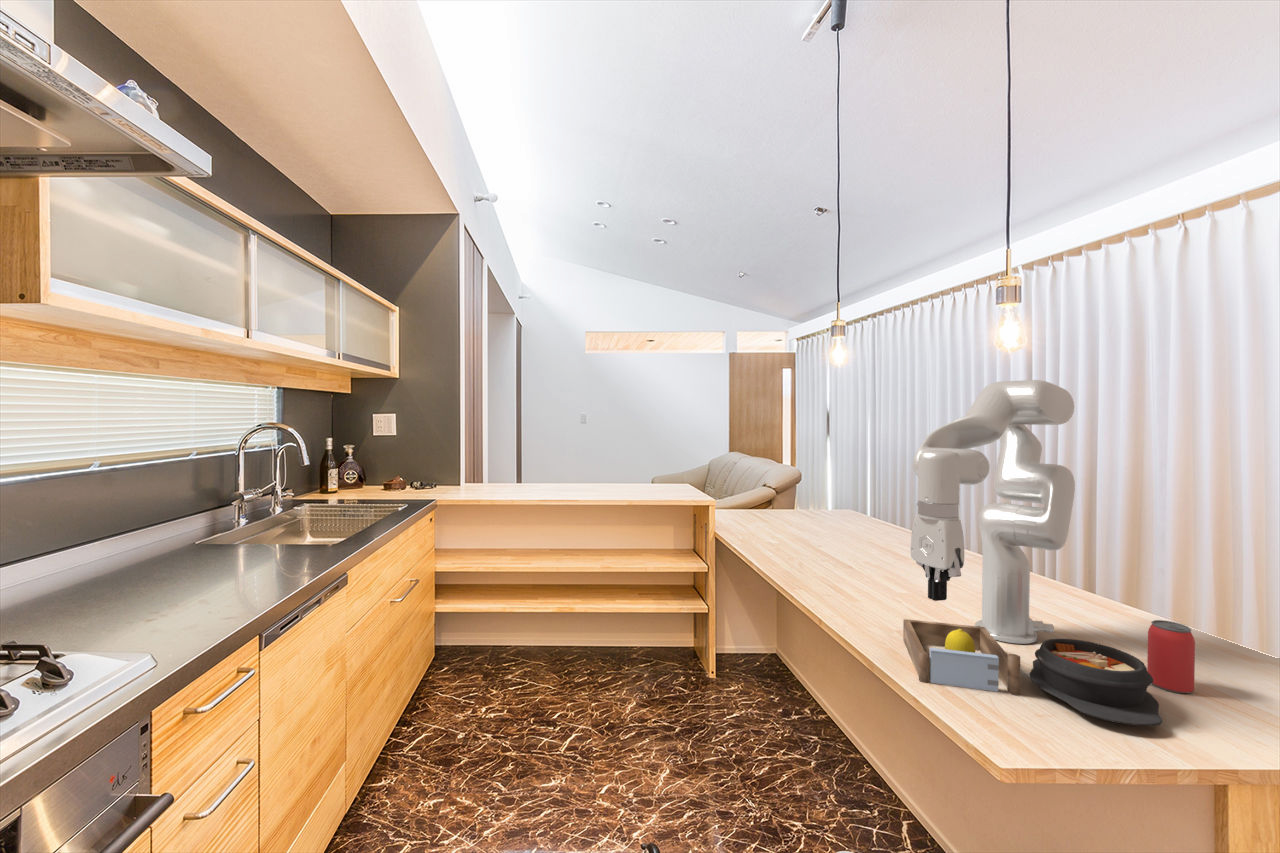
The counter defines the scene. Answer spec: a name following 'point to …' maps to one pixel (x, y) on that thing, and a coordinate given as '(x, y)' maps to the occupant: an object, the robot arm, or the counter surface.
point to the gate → (964, 669)
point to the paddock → (936, 636)
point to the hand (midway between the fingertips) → (937, 599)
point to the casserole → (1096, 681)
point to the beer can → (1171, 656)
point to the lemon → (959, 641)
